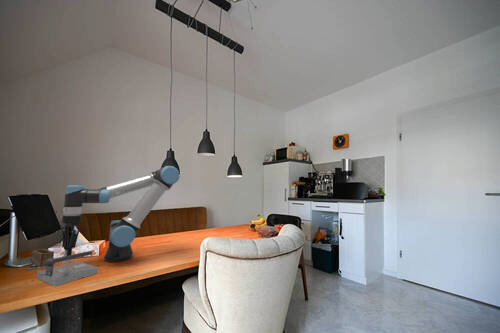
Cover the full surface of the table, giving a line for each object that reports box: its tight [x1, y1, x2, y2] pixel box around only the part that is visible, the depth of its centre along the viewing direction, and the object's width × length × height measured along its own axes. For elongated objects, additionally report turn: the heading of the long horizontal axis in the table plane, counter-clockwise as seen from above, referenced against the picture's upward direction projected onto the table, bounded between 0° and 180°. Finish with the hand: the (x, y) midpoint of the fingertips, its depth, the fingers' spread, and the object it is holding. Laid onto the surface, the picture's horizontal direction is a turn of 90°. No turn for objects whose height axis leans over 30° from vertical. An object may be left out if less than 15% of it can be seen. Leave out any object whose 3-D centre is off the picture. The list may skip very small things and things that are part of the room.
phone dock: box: [30, 248, 55, 267], centre depth 119 cm, size 5×12×7 cm, turn 63°
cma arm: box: [45, 250, 93, 265], centre depth 105 cm, size 19×3×2 cm, turn 153°
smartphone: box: [25, 264, 46, 271], centre depth 118 cm, size 8×15×1 cm, turn 29°
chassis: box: [35, 260, 99, 287], centre depth 105 cm, size 17×18×7 cm
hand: (66, 262), depth 109 cm, fingers closed
